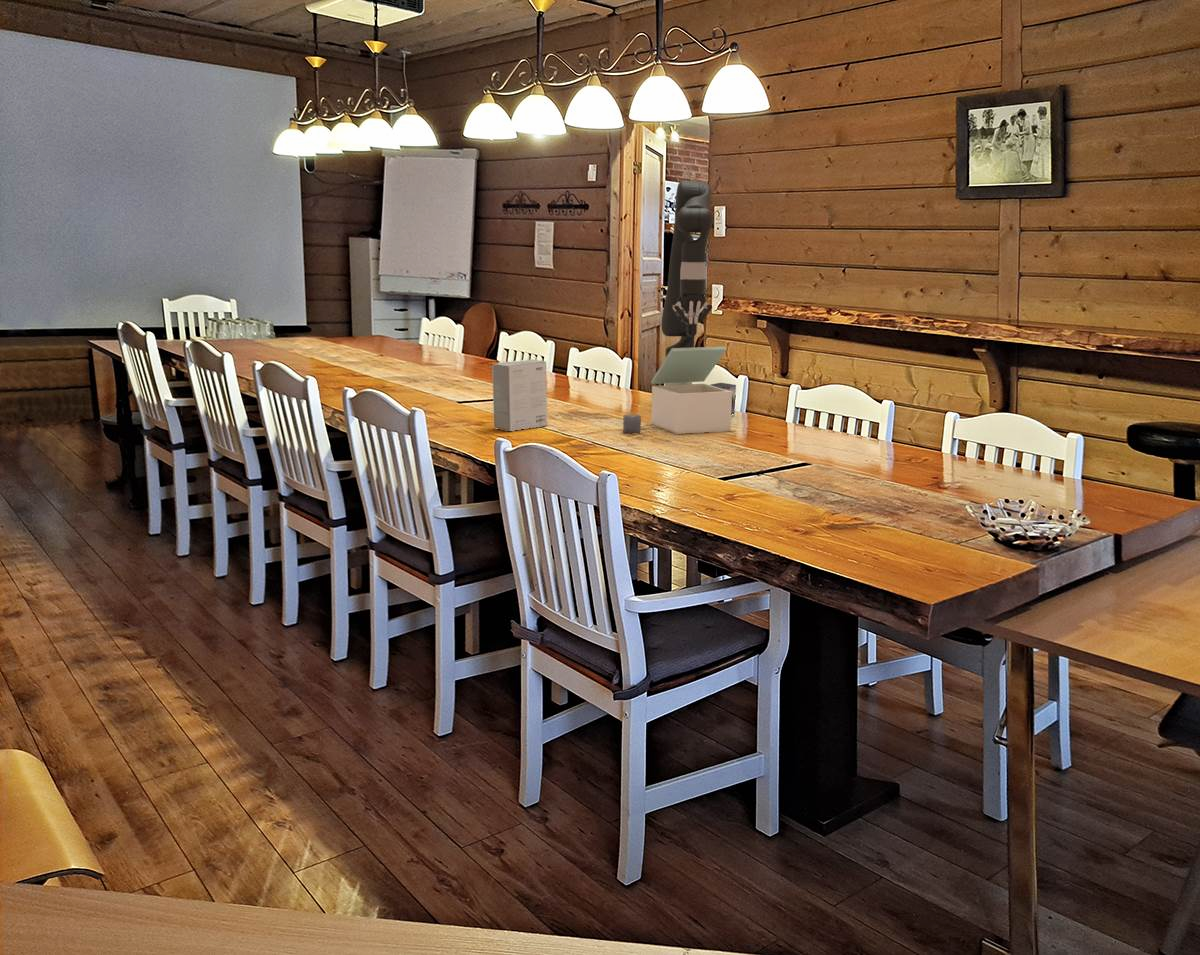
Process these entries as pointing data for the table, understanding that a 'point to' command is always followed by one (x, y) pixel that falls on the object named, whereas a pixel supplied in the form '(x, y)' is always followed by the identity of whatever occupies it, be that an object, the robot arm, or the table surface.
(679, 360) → the lid
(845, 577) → the table surface
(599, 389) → the table surface
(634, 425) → the dark grey cylinder
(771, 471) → the table surface
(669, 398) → the storage box
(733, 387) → the small box
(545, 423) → the hard drive box
